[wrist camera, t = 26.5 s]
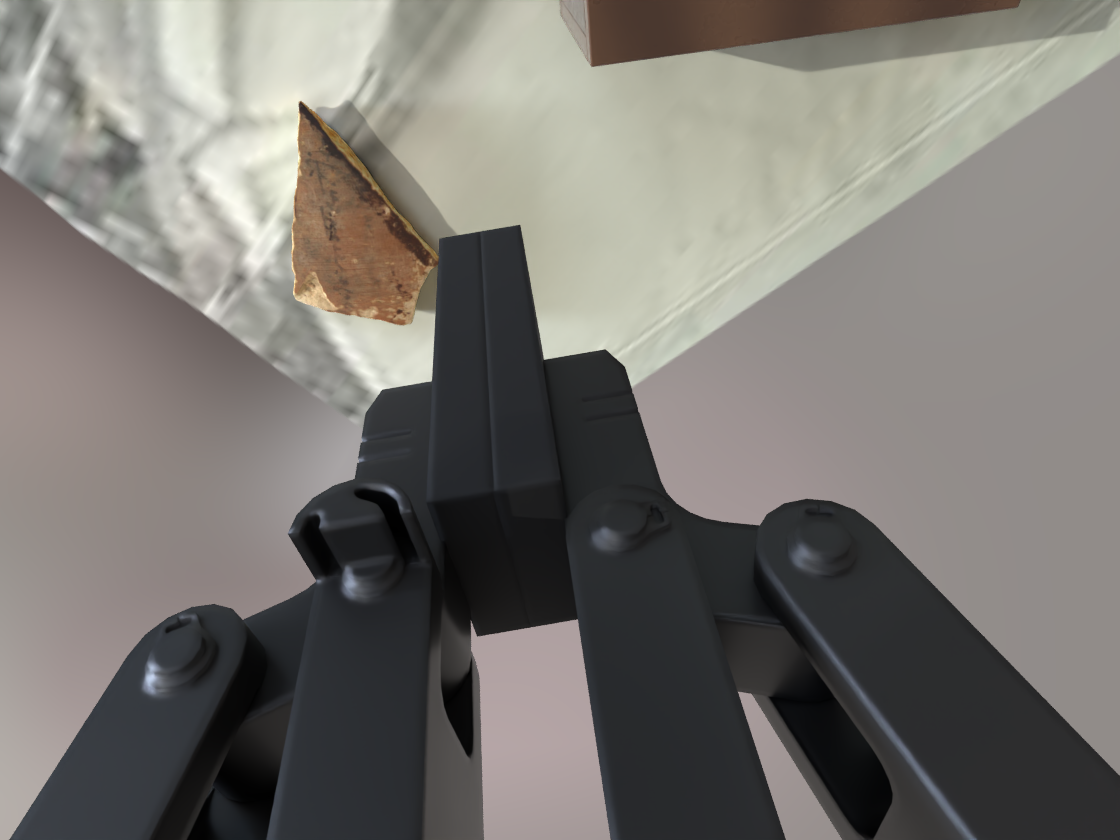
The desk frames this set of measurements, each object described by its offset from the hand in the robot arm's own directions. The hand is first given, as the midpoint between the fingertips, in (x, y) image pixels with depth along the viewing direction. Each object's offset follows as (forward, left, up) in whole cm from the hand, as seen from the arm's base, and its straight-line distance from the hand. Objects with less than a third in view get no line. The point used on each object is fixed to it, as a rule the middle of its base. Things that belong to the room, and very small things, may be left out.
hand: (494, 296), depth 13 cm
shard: (+8, -9, -24) cm, 27 cm away
